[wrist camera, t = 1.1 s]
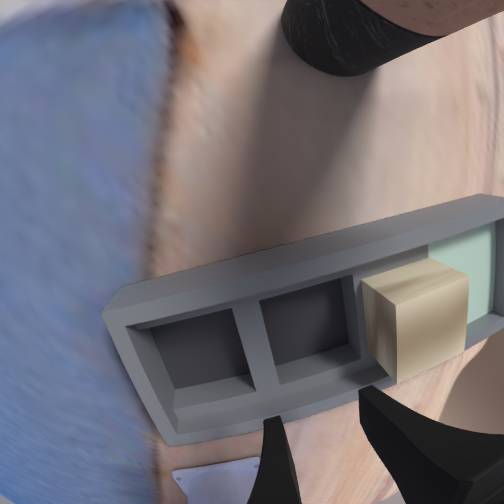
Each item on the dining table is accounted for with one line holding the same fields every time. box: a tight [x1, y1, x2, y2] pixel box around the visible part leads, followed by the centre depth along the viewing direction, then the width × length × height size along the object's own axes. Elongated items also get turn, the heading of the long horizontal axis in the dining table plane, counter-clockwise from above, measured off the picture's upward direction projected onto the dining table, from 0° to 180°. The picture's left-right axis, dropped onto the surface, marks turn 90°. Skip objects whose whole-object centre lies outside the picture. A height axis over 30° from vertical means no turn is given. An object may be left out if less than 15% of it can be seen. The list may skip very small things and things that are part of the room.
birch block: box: [361, 257, 469, 384], centre depth 17 cm, size 5×5×4 cm
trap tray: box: [101, 194, 504, 447], centre depth 19 cm, size 10×27×4 cm, turn 103°
